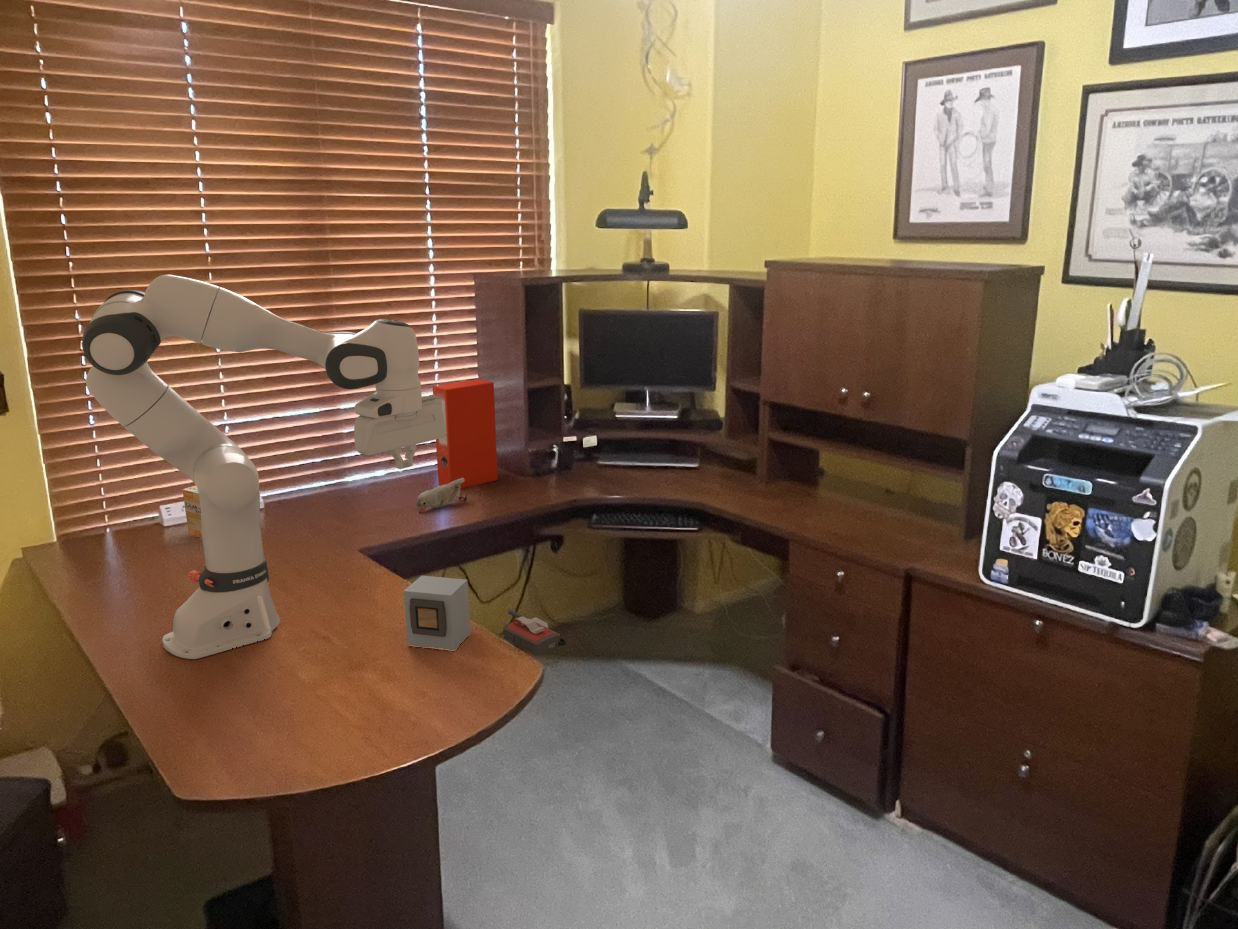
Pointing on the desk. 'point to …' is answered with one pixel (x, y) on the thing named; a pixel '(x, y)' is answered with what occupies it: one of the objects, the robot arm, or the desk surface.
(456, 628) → the housing
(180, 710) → the desk surface
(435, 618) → the peg
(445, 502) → the decorative bird
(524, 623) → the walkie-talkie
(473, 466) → the file binder
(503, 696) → the desk surface
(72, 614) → the desk surface
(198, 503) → the supplement box
